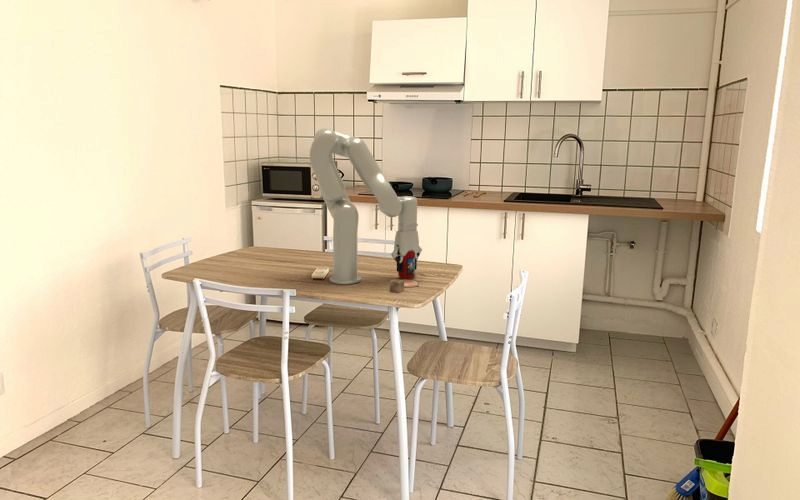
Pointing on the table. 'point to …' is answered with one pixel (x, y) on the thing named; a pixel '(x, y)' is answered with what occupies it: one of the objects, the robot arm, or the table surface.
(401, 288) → the walnut block
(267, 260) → the table surface
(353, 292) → the table surface
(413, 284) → the coaster
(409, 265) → the beverage can
